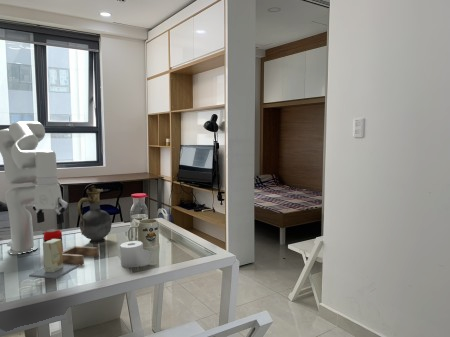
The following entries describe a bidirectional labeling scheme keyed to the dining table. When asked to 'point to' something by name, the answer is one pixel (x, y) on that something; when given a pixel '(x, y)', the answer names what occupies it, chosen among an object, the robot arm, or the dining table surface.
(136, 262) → the toilet tissue
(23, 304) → the dining table surface
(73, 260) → the walnut cradle
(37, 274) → the grey mat
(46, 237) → the soda can
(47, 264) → the skincare box
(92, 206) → the pitcher
